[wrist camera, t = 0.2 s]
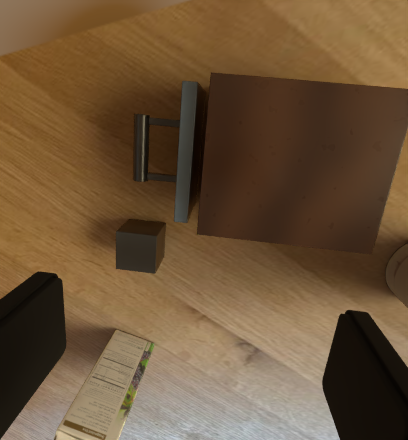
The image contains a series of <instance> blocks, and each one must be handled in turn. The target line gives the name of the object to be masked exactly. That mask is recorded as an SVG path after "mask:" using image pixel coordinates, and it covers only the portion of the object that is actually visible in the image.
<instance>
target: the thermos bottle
mask: <svg viewBox="0 0 408 440" xmlns="http://www.w3.org/2000/svg"><path fill="white" fill-rule="evenodd" d="M386 282H387V284H388V286H389V288H390V289H391V291H392V292H393V293H394V294H395V295H396V296H397V297H398V298H399V299H400V300H401V301H402V302H403V304H404V305H405V306H406V307H407V308H408V243H407V244H406V245H404V246H402V247H401V248H400V249H398V250H397V251H396V252H395V253H394V254H393V256H392V257H391V258H390V260H389V262H388V264H387V268H386Z"/></svg>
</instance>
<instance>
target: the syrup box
mask: <svg viewBox="0 0 408 440" xmlns="http://www.w3.org/2000/svg"><path fill="white" fill-rule="evenodd" d="M153 347H154V343H152V342H149V341H147V340H144V339H141V338H139V337H136V336H133V335H131V334H128V333H125V332H122V331H119V330H115V332H114V334H113V335H112V337H111V338H110V340H109V342H108V343H107V345H106V347H105V349H104V350H103V352H102V354H101V355H100V357H99V359H98V360H97V362H96V364H95V366H94V367H93V369H92V371H91V372H90V374H89V376H88V377H87V379H86V381H85V382H84V384H83V386H82V387H81V389H80V391H79V393H78V394H77V396H76V398H75V399H74V401H73V403H72V405H71V406H70V408H69V410H68V411H67V413H66V415H65V417H64V418H63V420H62V422H61V424H60V425H59V427H58V429H57V431H56V435H55V437H54V440H118V439H119V436H120V434H121V432H122V429H123V427H124V424H125V422H126V419H127V417H128V414H129V412H130V409H131V407H132V404H133V401H134V399H135V396H136V393H137V391H138V388H139V385H140V382H141V380H142V377H143V374H144V371H145V369H146V366H147V363H148V361H149V358H150V355H151V352H152V350H153Z"/></svg>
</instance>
